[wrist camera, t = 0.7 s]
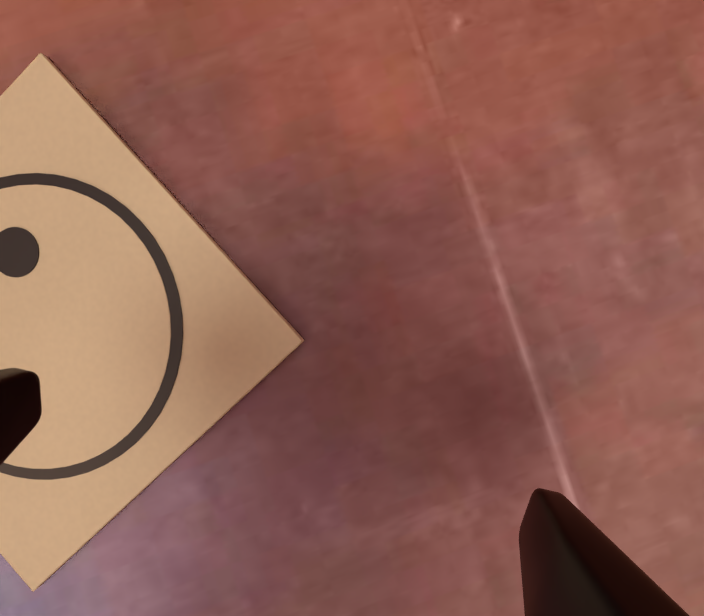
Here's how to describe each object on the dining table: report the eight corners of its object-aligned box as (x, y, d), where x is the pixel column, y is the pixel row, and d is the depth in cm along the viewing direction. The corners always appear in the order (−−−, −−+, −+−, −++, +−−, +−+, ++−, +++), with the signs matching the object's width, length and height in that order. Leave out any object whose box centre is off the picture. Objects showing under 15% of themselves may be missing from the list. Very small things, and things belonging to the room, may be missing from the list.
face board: (39, 586, 26) (28, 595, 25) (-191, 315, 27) (-209, 316, 26) (304, 340, 24) (301, 341, 23) (47, 56, 25) (36, 49, 24)
